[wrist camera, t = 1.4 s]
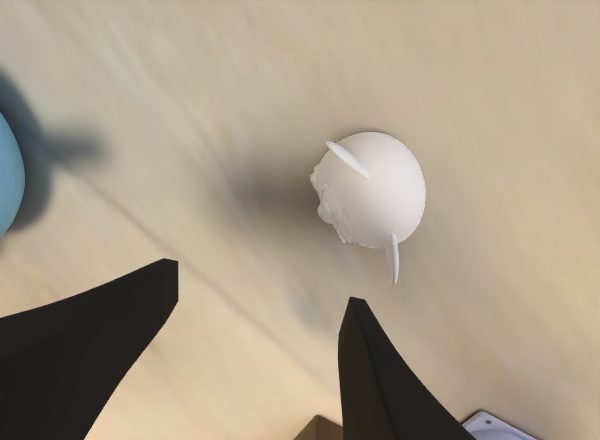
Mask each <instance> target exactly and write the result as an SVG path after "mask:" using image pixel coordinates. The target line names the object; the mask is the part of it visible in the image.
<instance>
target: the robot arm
mask: <svg viewBox="0 0 600 440" xmlns="http://www.w3.org/2000/svg"><path fill="white" fill-rule="evenodd" d="M177 302H178V261H175V260H170V259H165V258H164V259H161V260H158V261H156V262H153V263H151V264H149V265H147V266H144V267H142V268H140V269H138V270H135V271H133V272H131V273H129V274H126V275H124V276H122V277H120V278H117V279H115V280H113V281H110V282H108V283H105V284H103V285H100V286H98V287H95V288H93V289H90V290H88V291H85V292H83V293H80V294H78V295H75V296H72V297H69V298H66V299H63V300H60V301H57V302H54V303H51V304H48V305H45V306H42V307H38V308H35V309H31V310H27V311H24V312H20V313H17V314H13V315H9V316H6V317H2V318H0V440H84V438H85V437H86V435H87V434H88V432H89V430H90V429H91V427H92V425H93V424H94V422H95V420H96V419H97V417H98V416H99V414H100V412H101V411H102V409H103V408H104V406H105V404H106V403H107V401H108V400H109V398H110V397H111V395H112V394H113V392H114V390H115V389H116V387H117V386H118V384H119V383H120V381H121V380H122V379H123V377H124V376H125V374H126V373H127V372H128V370H129V369H130V368H131V367H132V365H133V364H134V363H135V361H136V360H137V359H138V358H139V356H140V355H141V354H142V352H143V351H144V350H145V349H146V347H147V346H148V345H149V343H150V342H151V341H152V340H153V338H154V337H155V336H156V334H157V333H158V332H159V330H160V329H161V328H162V327H163V325H164V324H165V323H166V321H167V319H168V318H169V316H170V314H171V313H172V311H173V309H174V307H175V306H176V304H177ZM338 368H339V381H340V393H341V405H342V418H343V440H537V439H535V438H533V437H531V436H529V435H527V434H526V433H524V432H522V431H520V430H518V429H516V428H514V427H512V426H510V425H508V424H506V423H504V422H503V421H501V420H499V419H497V418H495V417H493V416H491V415H489V414H487V413H485V412H478V413H477V414H475V415H474V416H473V417H471V418H470V419H469V420H467V421H466V422H465V423H463V424H462V425H461V424H460V423H459V422H458V421H457V420H456V419H455V418H454V417H453V416H452V415H451V414H450V413H449V412H448V411H447V410H446V409H445V408H444V407H443V406H442V405H441V404H440V403H439V402H438V401H437V399H436V398H435V397H434V396H433V395H432V394H431V393H430V392H429V391H428V389H427V388H426V387H425V386H424V385H423V384H422V382H421V381H420V380H419V379H418V378H417V376H416V375H415V374H414V373H413V372H412V370H411V369H410V368H409V366H408V365H407V364H406V363H405V361H404V360H403V358H402V357H401V356H400V354H399V353H398V352H397V350H396V349H395V347H394V346H393V344H392V343H391V341H390V340H389V338H388V337H387V335H386V334H385V332H384V330H383V329H382V327H381V326H380V324H379V322H378V321H377V319H376V317H375V316H374V314H373V312H372V311H371V309H370V307H369V305H368V304H367V302H366V301H365V300H364V299H359V298H355V297H350V298H349V302H348V305H347V308H346V312H345V315H344V318H343V322H342V325H341V329H340V332H339V340H338Z"/></svg>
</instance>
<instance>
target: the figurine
mask: <svg viewBox="0 0 600 440" xmlns="http://www.w3.org/2000/svg"><path fill="white" fill-rule="evenodd" d="M326 146H327V147H328V148H329V150H328V151H327V152H326V154H325V155H324V156H323V158H322V159H321V161H320V163H319V164H317V165H316V166H315V167H314V172H313V173H312V174H311V175H310V181H311V182H312V183H313V187H314V189H315V190H317V192H318V196H319V199H320V202H321V203H320V204H319V206H318V215H319V217H320V218H321V219H322V220H324V221H325V222H326V223H329V224H332V223H333V227H334V228H335V229H336V230H337V233H338V235H339V238H340V239H341V241H342V242H343V243H345V242H346V241H348V242H350V243H351V244H359V245H362V246H365V247H369V248H377V249H380V248H386V261H387V269H388V276H389V280H390V283H391V285H395V284H396V282H397V278H398V270H399V256H398V245H397V244H399V243H400V242H402V241H404V240H405V239H406V238H408V237H409V236H410V235H411V234H412V233H413V232H414V230H415V229H416V228H417V226H418V224H419V223H420V220H421V218H422V215H423V212H424V208H425V201H426V188H425V182H424V177H423V174H422V171H421V169H420V166H419V164H418V162H417V161H416V159H415V157H414V156H413V154H412V153H411V152H410V151H409V149H408V148H407V147H406V146H405V145H403V144H402V143H401V142H400V141H398V140H397V139H395V138H394V137H392V136H389V135H387V134H384V133H379V132H363V133H357V134H354V135H351V136H348V137H346V138H344V139H342V140H340V141H339V142H337V143H333V142H330V141H327V142H326Z"/></svg>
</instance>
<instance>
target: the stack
mask: <svg viewBox="0 0 600 440" xmlns="http://www.w3.org/2000/svg"><path fill="white" fill-rule="evenodd" d="M295 440H343V428H342V427H340V426H338V425H336V424H334V423H332V422H330V421H328V420H326V419H324V418H322V417H320V416H318V415H317V416H316V417H315V418H314V419H313V420H312V421H311V422H310V423H309V424H308V426H307V427H306V428H305V429H304V430H303V431H302V432H301V433H300V434H299V435H298V436H297V437H296V438H295Z"/></svg>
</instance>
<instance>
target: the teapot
mask: <svg viewBox="0 0 600 440" xmlns="http://www.w3.org/2000/svg"><path fill="white" fill-rule="evenodd" d="M24 189H25V172H24V165H23V160H22V156H21V153H20V150H19V147H18V144H17V141H16V139H15V137H14V135H13V133H12V131H11V129H10V127H9V125H8V123H7V122H6V120H5V118H4V117H3V115H2V114H1V112H0V237H1V236H2V235H3V234H4V233H5V232H6V231H7V230H8V228H9V227H10V225H11V223H12V222H13V220H14V218H15V216H16V214H17V212H18V209H19V207H20V204H21V201H22V197H23V194H24Z"/></svg>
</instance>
